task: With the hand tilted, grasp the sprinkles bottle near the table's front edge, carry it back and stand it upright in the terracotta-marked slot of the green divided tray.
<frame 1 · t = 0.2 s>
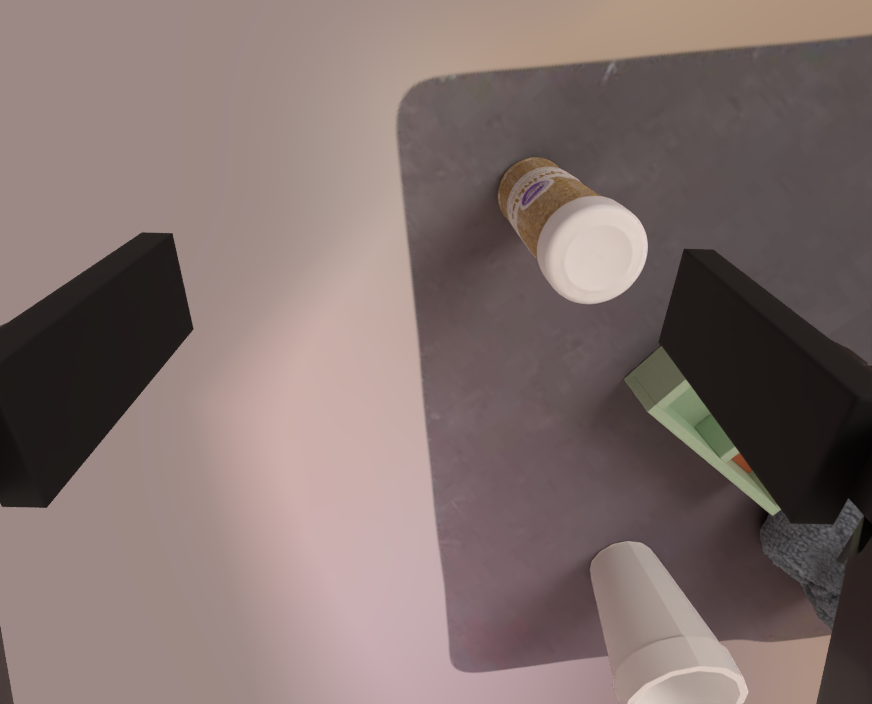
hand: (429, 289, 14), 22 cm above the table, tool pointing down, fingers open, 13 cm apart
green divided tray: (727, 397, 44), on the table
koala plush: (832, 509, 51), on the table
foam cup: (621, 562, 52), on the table
sprinkles bottle: (529, 192, 35), on the table
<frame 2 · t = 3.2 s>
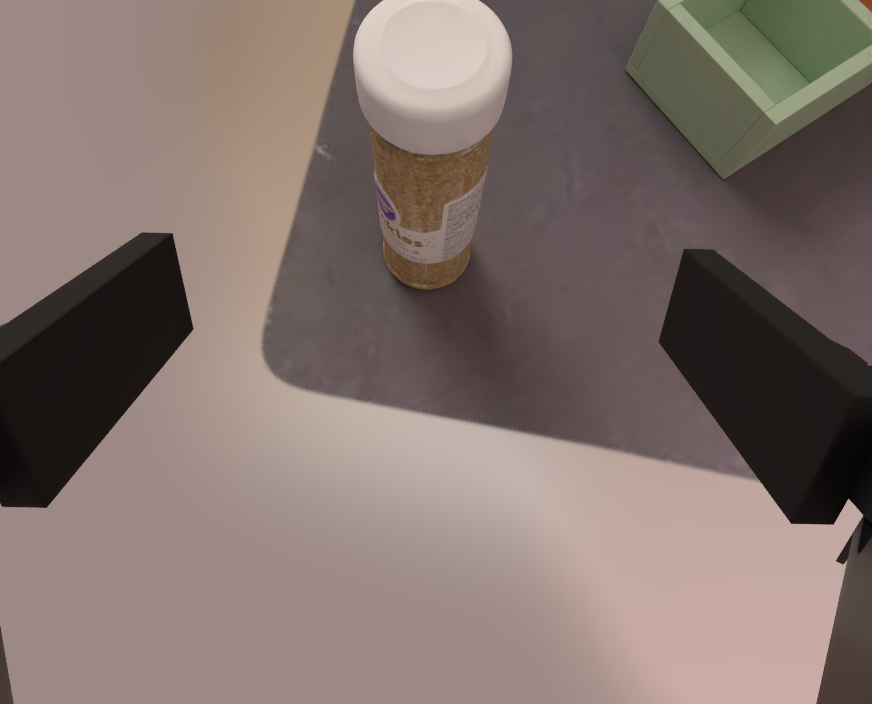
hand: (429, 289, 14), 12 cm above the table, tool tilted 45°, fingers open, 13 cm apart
green divided tray: (778, 57, 32), on the table
sprinkles bottle: (427, 253, 28), on the table
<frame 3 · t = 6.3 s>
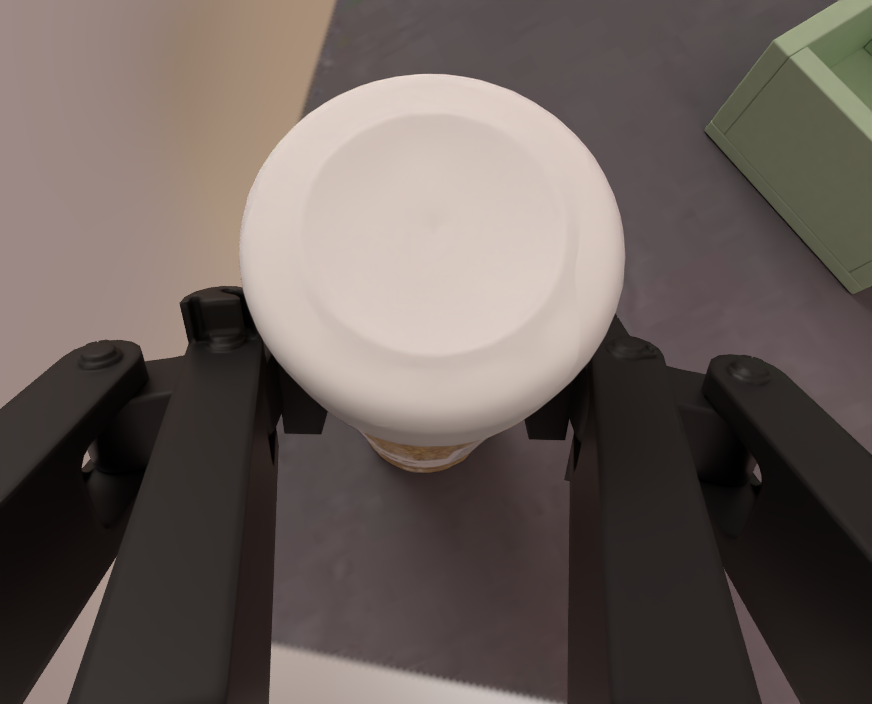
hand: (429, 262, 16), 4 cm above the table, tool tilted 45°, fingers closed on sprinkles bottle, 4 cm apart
sprinkles bottle: (425, 409, 19), on the table, touching gripper
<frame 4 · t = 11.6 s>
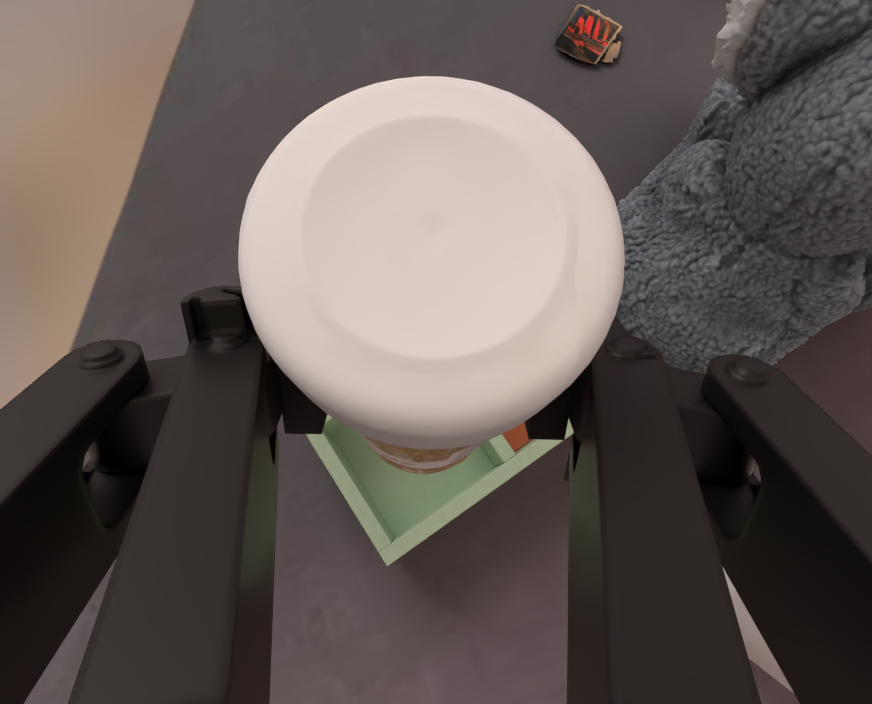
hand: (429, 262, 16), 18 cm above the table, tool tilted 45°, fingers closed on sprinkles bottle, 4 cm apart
green divided tray: (465, 415, 33), on the table
koala plush: (704, 271, 37), on the table
foam cup: (755, 595, 31), on the table
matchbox: (589, 41, 41), on the table
sprinkles bottle: (425, 410, 19), point 14 cm above the table, touching gripper
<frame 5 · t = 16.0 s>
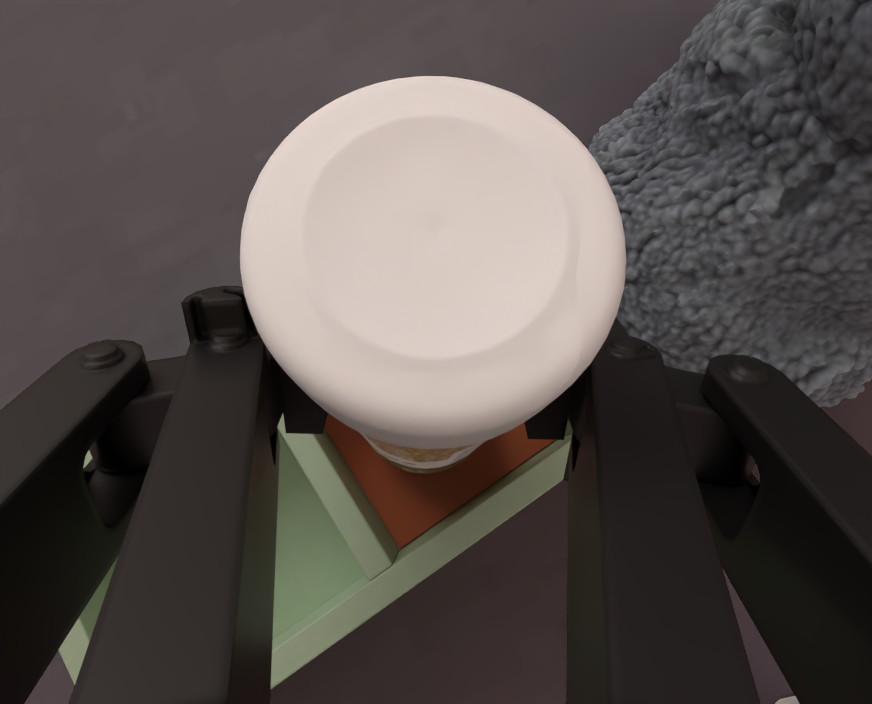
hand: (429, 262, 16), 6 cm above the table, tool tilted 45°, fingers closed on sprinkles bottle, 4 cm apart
green divided tray: (340, 473, 20), on the table
koala plush: (733, 241, 23), on the table
sprinkles bottle: (425, 410, 19), point 2 cm above the table, touching gripper
when the fingers open (6 cm above the table, at t = 16.9 s): sprinkles bottle drops 1 cm, resting on green divided tray.
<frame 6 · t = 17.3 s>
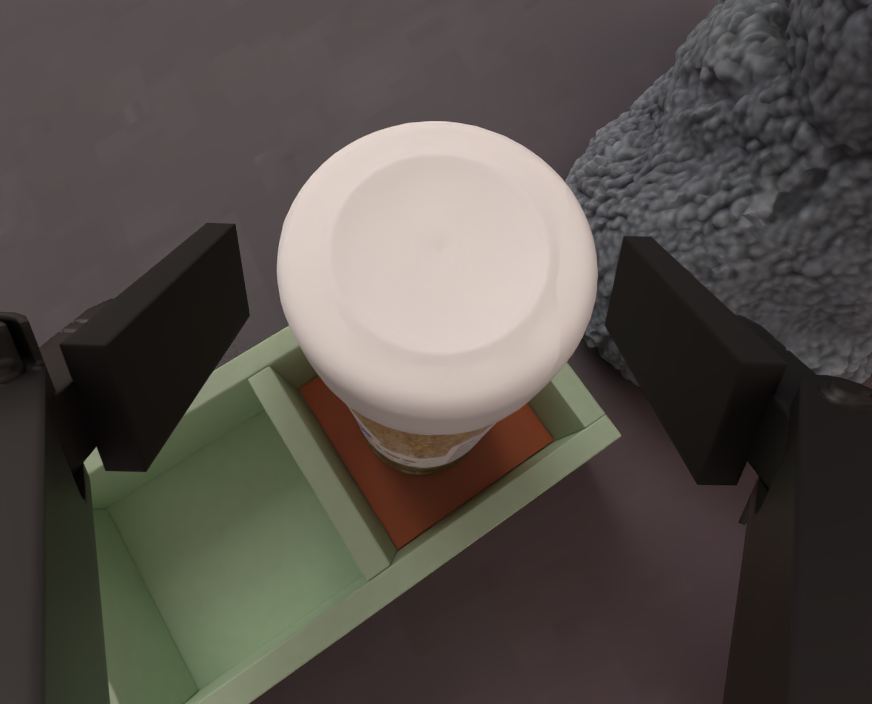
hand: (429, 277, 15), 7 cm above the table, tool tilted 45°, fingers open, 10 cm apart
green divided tray: (339, 474, 20), on the table
koala plush: (729, 244, 23), on the table
sprinkles bottle: (422, 416, 20), point 1 cm above the table, touching green divided tray
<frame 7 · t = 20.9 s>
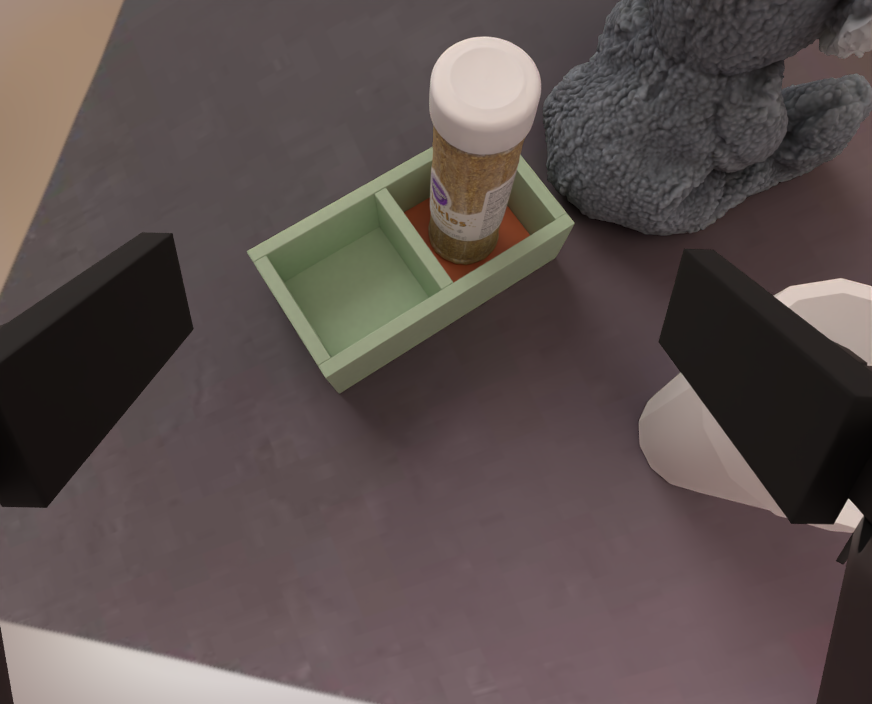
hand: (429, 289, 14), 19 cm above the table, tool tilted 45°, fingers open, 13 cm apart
green divided tray: (414, 269, 35), on the table
koala plush: (651, 144, 38), on the table
foam cup: (688, 436, 33), on the table
sprinkles bottle: (463, 236, 35), point 1 cm above the table, touching green divided tray
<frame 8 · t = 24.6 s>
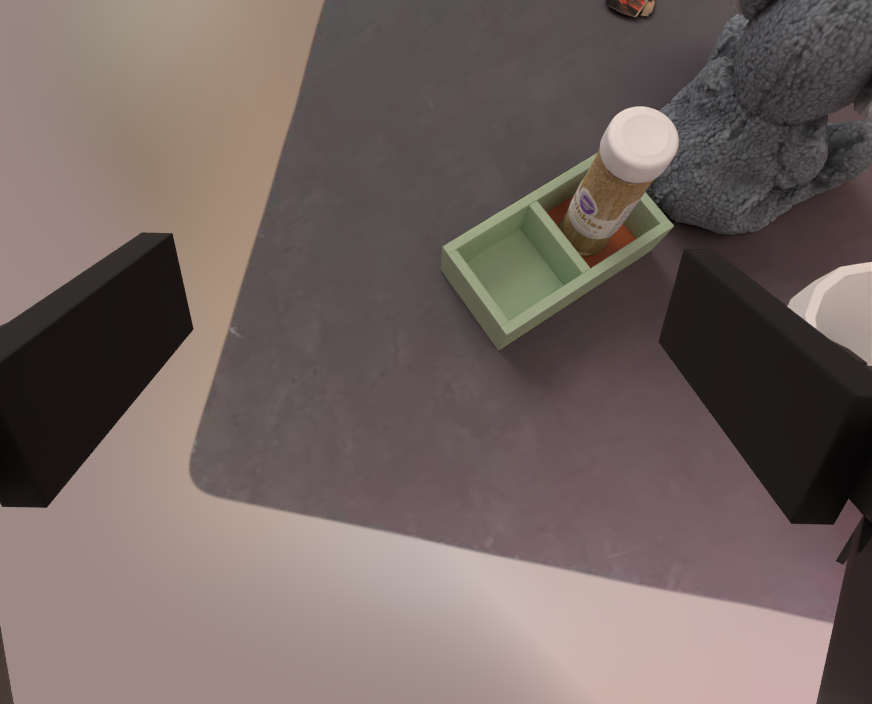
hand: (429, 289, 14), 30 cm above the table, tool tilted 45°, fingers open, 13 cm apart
green divided tray: (546, 260, 47), on the table
koala plush: (717, 165, 50), on the table
foam cup: (753, 381, 45), on the table
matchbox: (630, 0, 54), on the table
sprinkles bottle: (582, 235, 47), point 1 cm above the table, touching green divided tray
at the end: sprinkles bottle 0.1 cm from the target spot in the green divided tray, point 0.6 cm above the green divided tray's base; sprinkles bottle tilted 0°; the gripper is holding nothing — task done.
